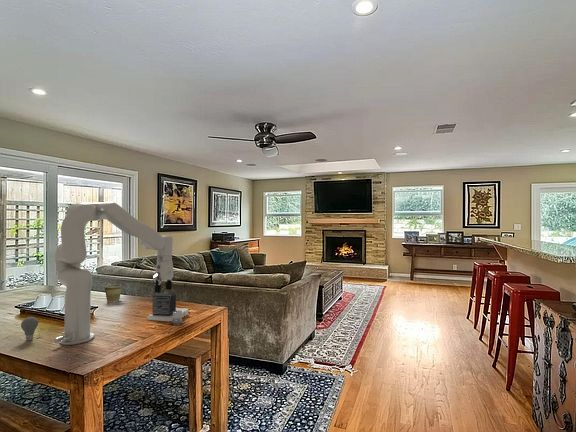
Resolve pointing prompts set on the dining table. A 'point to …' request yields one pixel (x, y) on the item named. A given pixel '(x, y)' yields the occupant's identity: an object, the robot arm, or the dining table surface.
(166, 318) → the scale
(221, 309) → the dining table surface
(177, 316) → the round metal knob
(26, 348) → the dining table surface
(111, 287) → the olive flower pot
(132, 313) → the dining table surface
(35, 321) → the light bulb
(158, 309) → the small box
